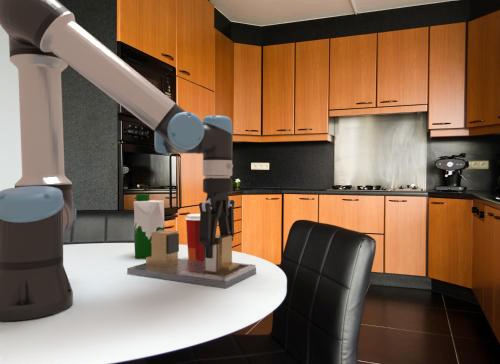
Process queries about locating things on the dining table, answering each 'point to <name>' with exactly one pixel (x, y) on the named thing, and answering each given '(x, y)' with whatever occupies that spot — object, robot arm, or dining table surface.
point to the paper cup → (194, 238)
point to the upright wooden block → (223, 256)
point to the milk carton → (146, 223)
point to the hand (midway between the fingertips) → (217, 268)
